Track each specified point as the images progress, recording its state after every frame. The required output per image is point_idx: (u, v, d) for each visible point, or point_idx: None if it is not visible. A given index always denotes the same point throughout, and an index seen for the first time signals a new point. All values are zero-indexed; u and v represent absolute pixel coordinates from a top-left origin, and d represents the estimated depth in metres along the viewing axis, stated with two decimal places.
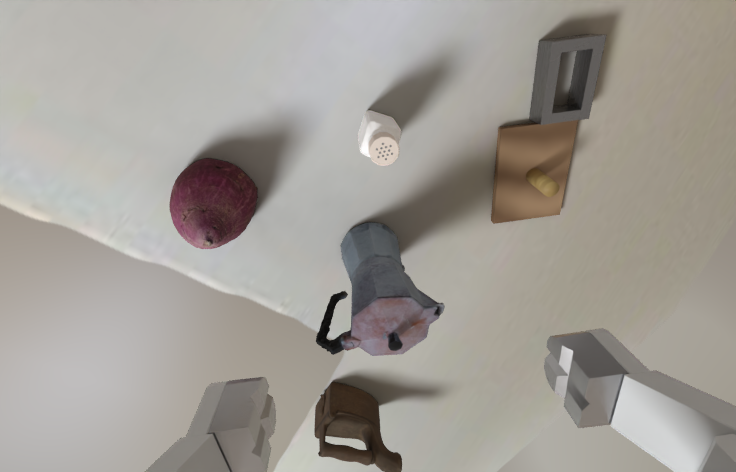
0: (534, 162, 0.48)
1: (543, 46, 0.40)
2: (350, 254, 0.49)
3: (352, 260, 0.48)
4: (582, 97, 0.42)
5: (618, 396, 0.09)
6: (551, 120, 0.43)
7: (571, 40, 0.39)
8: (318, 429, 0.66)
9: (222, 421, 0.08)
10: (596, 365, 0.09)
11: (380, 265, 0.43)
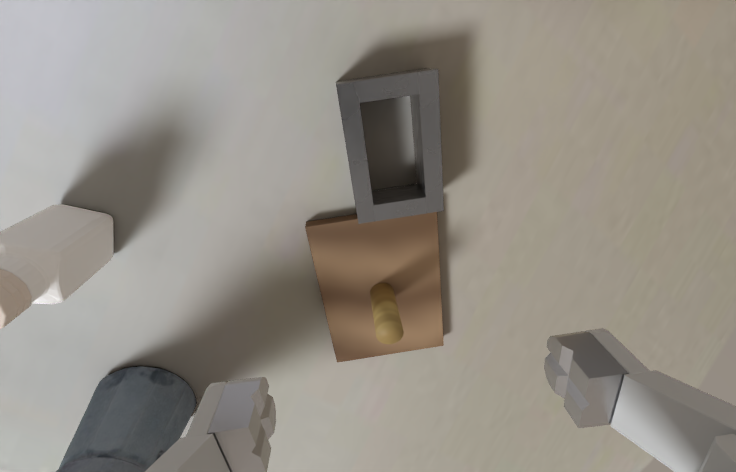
0: (379, 274, 0.29)
1: None
2: None
3: None
4: (424, 176, 0.24)
5: (618, 396, 0.09)
6: (376, 216, 0.24)
7: (372, 80, 0.21)
8: None
9: (222, 421, 0.08)
10: (596, 365, 0.09)
11: None
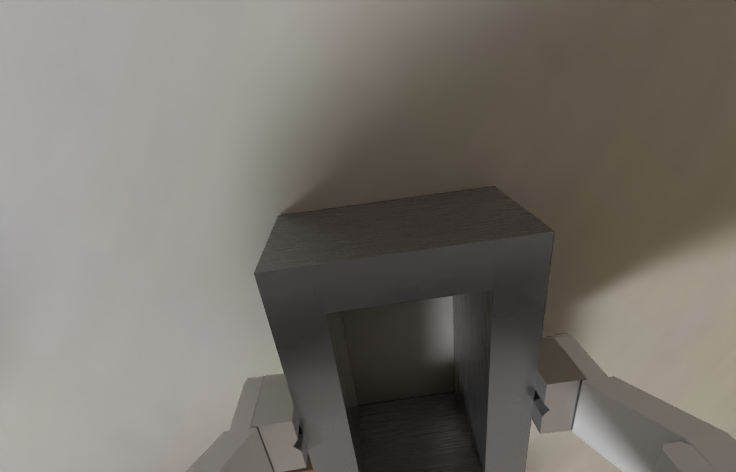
0: None
1: None
2: None
3: None
4: (483, 437, 0.10)
5: (577, 402, 0.09)
6: None
7: (362, 263, 0.07)
8: None
9: (265, 416, 0.08)
10: (556, 371, 0.09)
11: None
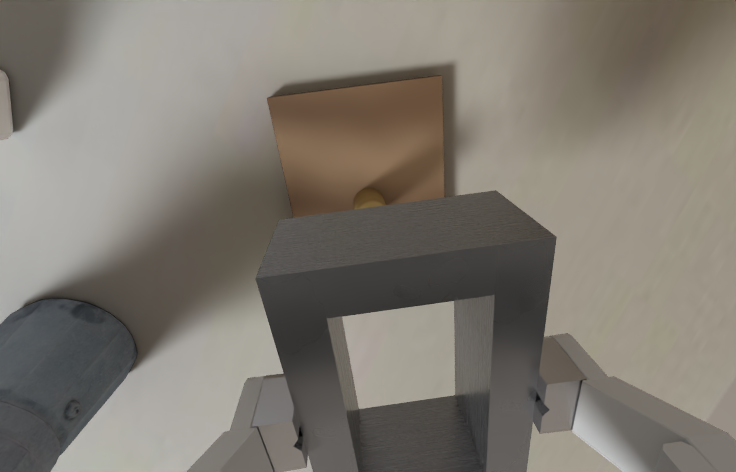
0: (364, 175, 0.22)
1: None
2: None
3: None
4: (484, 441, 0.10)
5: (578, 402, 0.09)
6: None
7: (364, 268, 0.07)
8: None
9: (265, 416, 0.08)
10: (556, 371, 0.09)
11: None
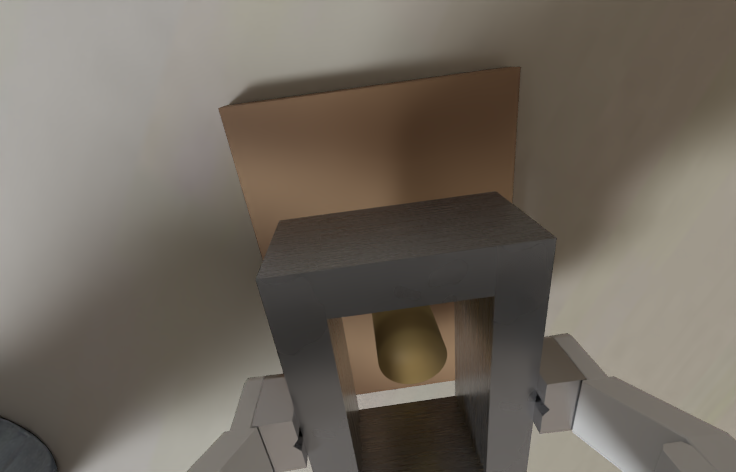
0: None
1: None
2: None
3: None
4: (484, 442, 0.10)
5: (577, 402, 0.09)
6: None
7: (364, 269, 0.07)
8: None
9: (265, 415, 0.08)
10: (556, 371, 0.09)
11: None
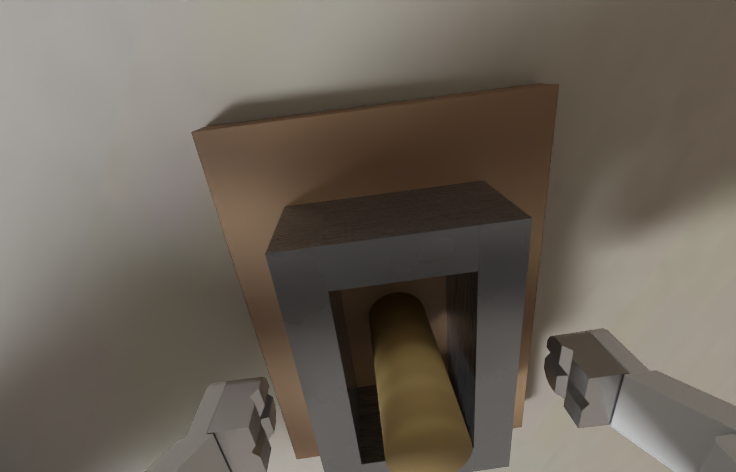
0: None
1: None
2: None
3: None
4: (472, 411, 0.11)
5: (618, 396, 0.09)
6: None
7: (361, 245, 0.08)
8: None
9: (222, 421, 0.08)
10: (596, 365, 0.09)
11: None
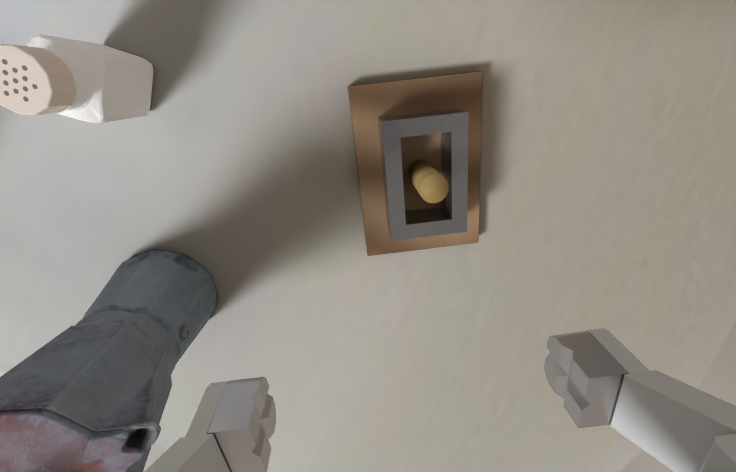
0: (418, 150, 0.28)
1: (380, 126, 0.26)
2: None
3: None
4: (451, 201, 0.27)
5: (619, 396, 0.09)
6: (407, 234, 0.28)
7: (412, 119, 0.24)
8: None
9: (222, 421, 0.08)
10: (596, 365, 0.09)
11: (88, 328, 0.22)
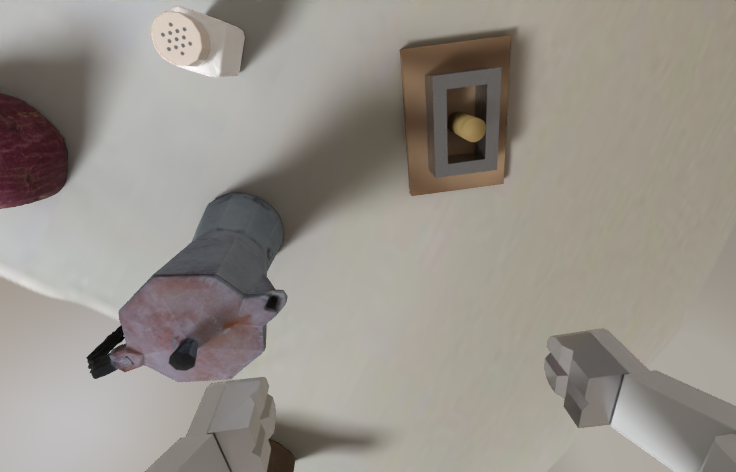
0: (456, 102, 0.34)
1: (427, 82, 0.32)
2: None
3: (193, 240, 0.33)
4: (484, 144, 0.33)
5: (618, 396, 0.09)
6: (448, 172, 0.34)
7: (457, 74, 0.30)
8: None
9: (222, 421, 0.08)
10: (596, 365, 0.09)
11: (210, 239, 0.28)
